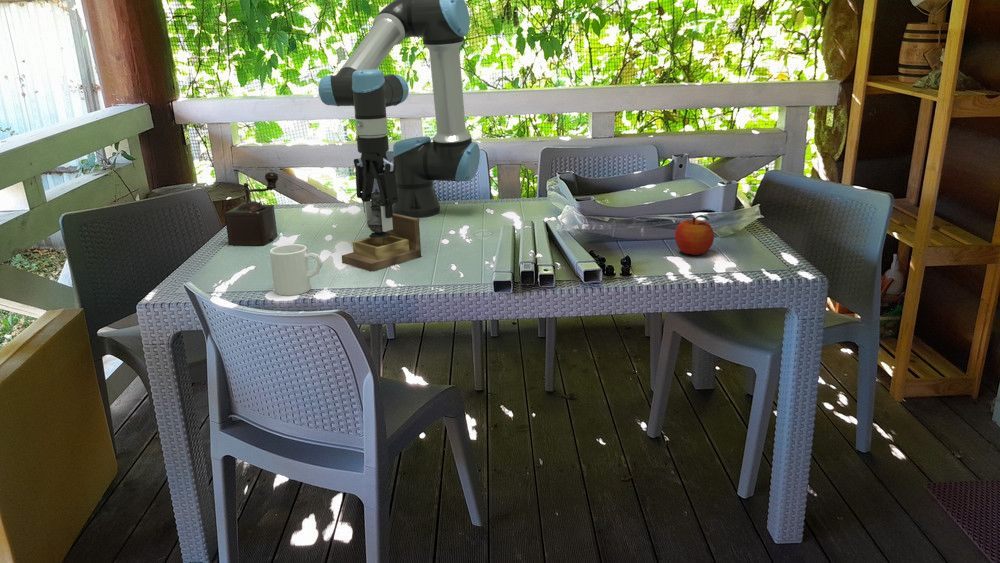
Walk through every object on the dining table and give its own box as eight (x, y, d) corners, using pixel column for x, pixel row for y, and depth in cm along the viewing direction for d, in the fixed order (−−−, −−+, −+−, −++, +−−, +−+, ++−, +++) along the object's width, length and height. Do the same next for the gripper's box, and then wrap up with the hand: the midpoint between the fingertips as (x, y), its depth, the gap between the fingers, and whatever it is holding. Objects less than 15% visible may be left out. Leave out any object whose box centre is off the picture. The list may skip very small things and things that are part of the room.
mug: (318, 297, 180) (313, 254, 177) (268, 295, 182) (263, 253, 179) (332, 285, 187) (328, 244, 184) (284, 283, 190) (279, 243, 187)
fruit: (683, 245, 210) (684, 208, 207) (718, 251, 205) (721, 212, 201) (667, 255, 203) (669, 216, 200) (704, 260, 197) (706, 220, 194)
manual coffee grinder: (265, 246, 222) (257, 181, 216) (227, 246, 223) (218, 181, 218) (287, 231, 236) (280, 170, 231) (251, 231, 238) (244, 170, 232)
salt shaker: (365, 234, 206) (361, 187, 202) (387, 231, 208) (384, 185, 204) (371, 239, 200) (367, 192, 197) (394, 236, 203) (390, 189, 199)
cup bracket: (391, 248, 216) (388, 212, 212) (421, 256, 208) (418, 218, 205) (342, 262, 205) (338, 224, 201) (372, 271, 197) (368, 231, 194)
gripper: (336, 134, 200) (344, 225, 207) (385, 140, 188) (392, 237, 195) (360, 131, 205) (367, 220, 212) (409, 136, 193) (415, 231, 200)
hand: (379, 228), depth 203 cm, fingers closed on salt shaker, 6 cm apart
